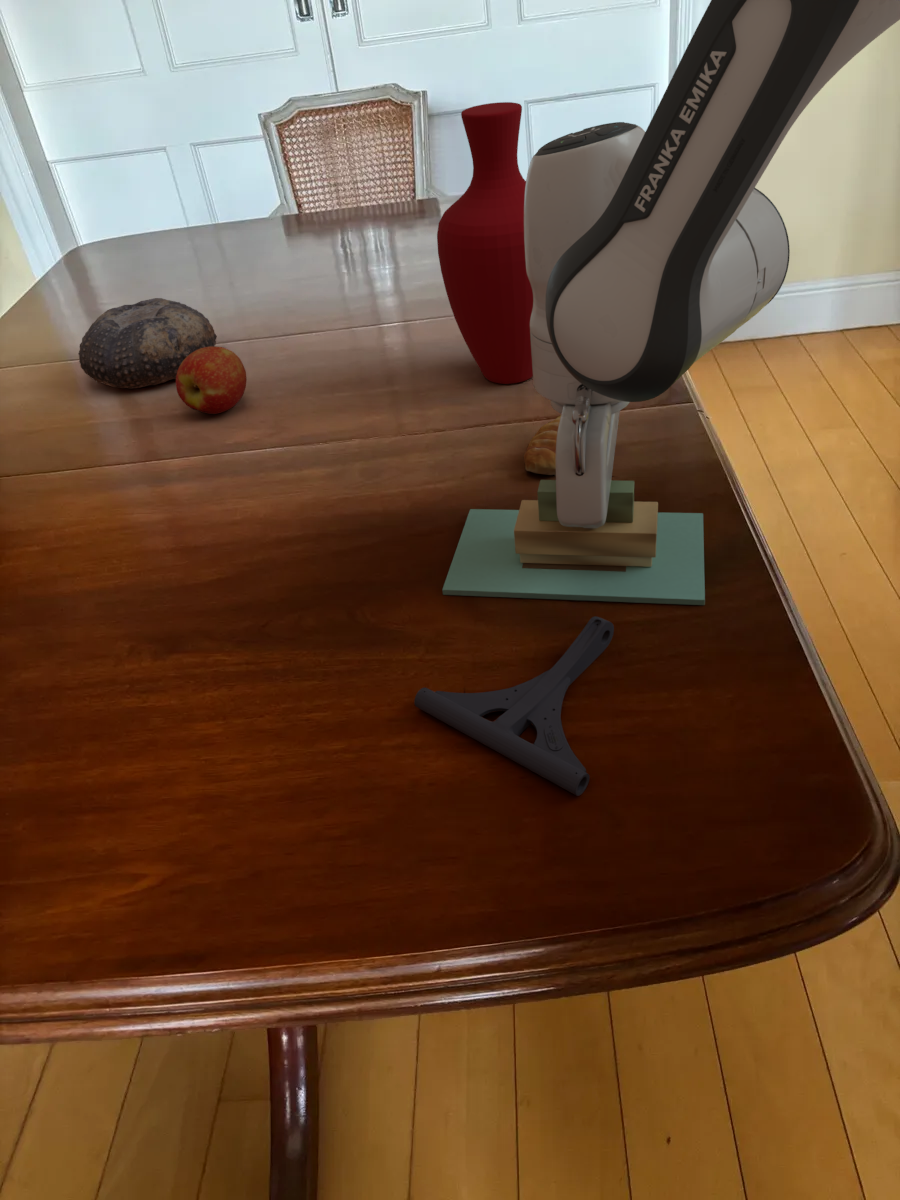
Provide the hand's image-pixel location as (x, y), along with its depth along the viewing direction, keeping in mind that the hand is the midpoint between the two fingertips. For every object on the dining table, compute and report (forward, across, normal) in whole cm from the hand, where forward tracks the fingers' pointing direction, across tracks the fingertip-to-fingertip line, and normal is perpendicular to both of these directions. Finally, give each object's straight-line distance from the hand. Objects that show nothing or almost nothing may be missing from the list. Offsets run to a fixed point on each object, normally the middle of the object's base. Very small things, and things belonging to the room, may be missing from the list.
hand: (593, 512), depth 77 cm
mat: (+5, 0, +2) cm, 5 cm away
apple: (+4, +30, +50) cm, 58 cm away
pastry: (+5, +18, +4) cm, 19 cm away
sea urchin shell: (+4, +43, +66) cm, 79 cm away
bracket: (+5, -18, +2) cm, 18 cm away
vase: (+5, +39, +14) cm, 42 cm away
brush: (+4, 0, +1) cm, 4 cm away
